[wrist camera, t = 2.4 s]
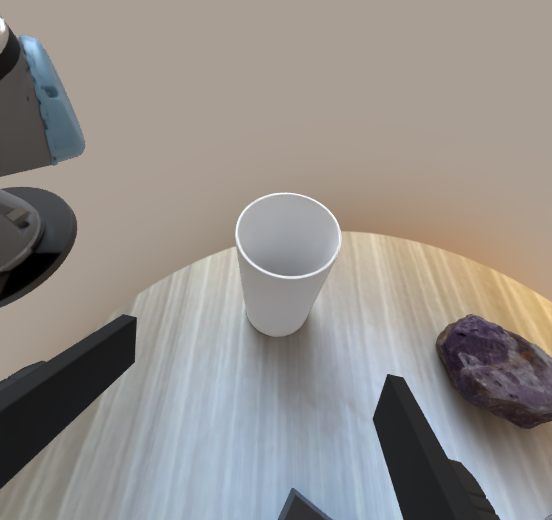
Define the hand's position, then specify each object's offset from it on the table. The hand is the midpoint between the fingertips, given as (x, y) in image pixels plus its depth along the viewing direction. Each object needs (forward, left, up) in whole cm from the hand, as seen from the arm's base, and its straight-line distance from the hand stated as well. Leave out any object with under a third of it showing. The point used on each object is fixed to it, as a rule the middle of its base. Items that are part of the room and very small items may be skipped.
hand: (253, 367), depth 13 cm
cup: (-3, +10, -18) cm, 20 cm away
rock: (+21, +15, -18) cm, 31 cm away
